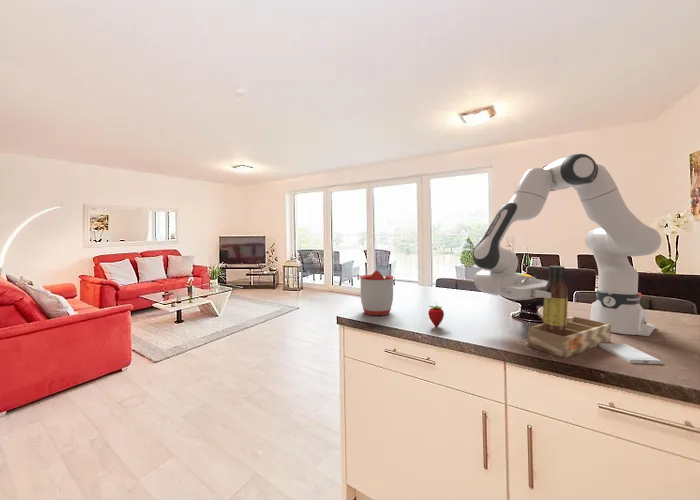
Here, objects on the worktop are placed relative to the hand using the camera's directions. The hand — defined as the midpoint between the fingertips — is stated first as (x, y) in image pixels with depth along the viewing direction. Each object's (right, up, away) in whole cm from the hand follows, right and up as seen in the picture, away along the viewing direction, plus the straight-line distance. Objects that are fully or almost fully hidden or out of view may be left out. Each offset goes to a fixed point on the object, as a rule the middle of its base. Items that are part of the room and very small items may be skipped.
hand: (558, 294), depth 92 cm
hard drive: (+19, -18, -3) cm, 26 cm away
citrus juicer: (-52, -16, +46) cm, 72 cm away
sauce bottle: (-1, -11, +2) cm, 11 cm away
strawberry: (-31, -17, +24) cm, 43 cm away
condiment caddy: (+8, -17, +6) cm, 20 cm away
